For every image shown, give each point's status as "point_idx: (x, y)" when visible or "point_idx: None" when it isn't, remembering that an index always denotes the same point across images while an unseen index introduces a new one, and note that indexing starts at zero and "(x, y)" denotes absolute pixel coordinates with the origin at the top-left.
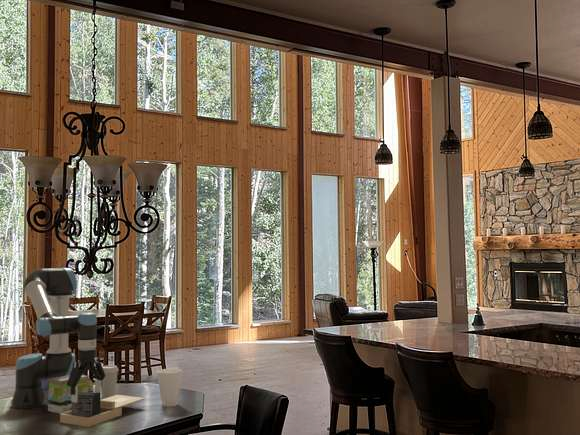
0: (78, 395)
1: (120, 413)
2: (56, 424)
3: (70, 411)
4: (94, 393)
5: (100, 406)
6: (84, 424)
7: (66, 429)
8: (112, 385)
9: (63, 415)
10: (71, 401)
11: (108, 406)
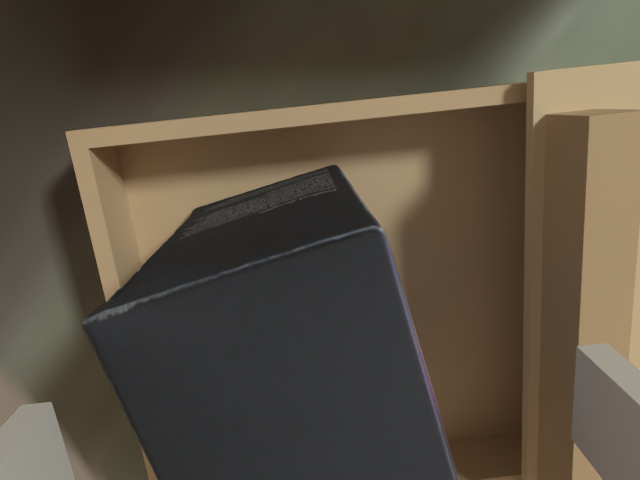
0: (149, 455)
1: None
2: (37, 160)
3: (226, 132)
4: None
5: (528, 329)
6: None
7: (11, 383)
8: None
9: (85, 184)
10: (19, 410)
11: (541, 435)
